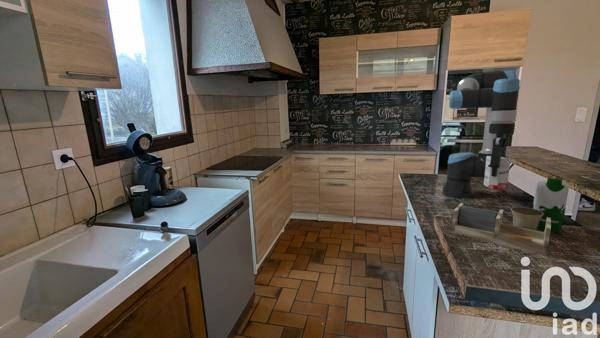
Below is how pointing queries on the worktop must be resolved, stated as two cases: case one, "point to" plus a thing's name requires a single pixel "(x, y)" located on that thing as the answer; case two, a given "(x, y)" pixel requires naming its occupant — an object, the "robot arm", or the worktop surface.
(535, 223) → the flower pot
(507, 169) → the ink box
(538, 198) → the milk carton
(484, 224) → the rack
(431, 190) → the worktop surface
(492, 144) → the robot arm
